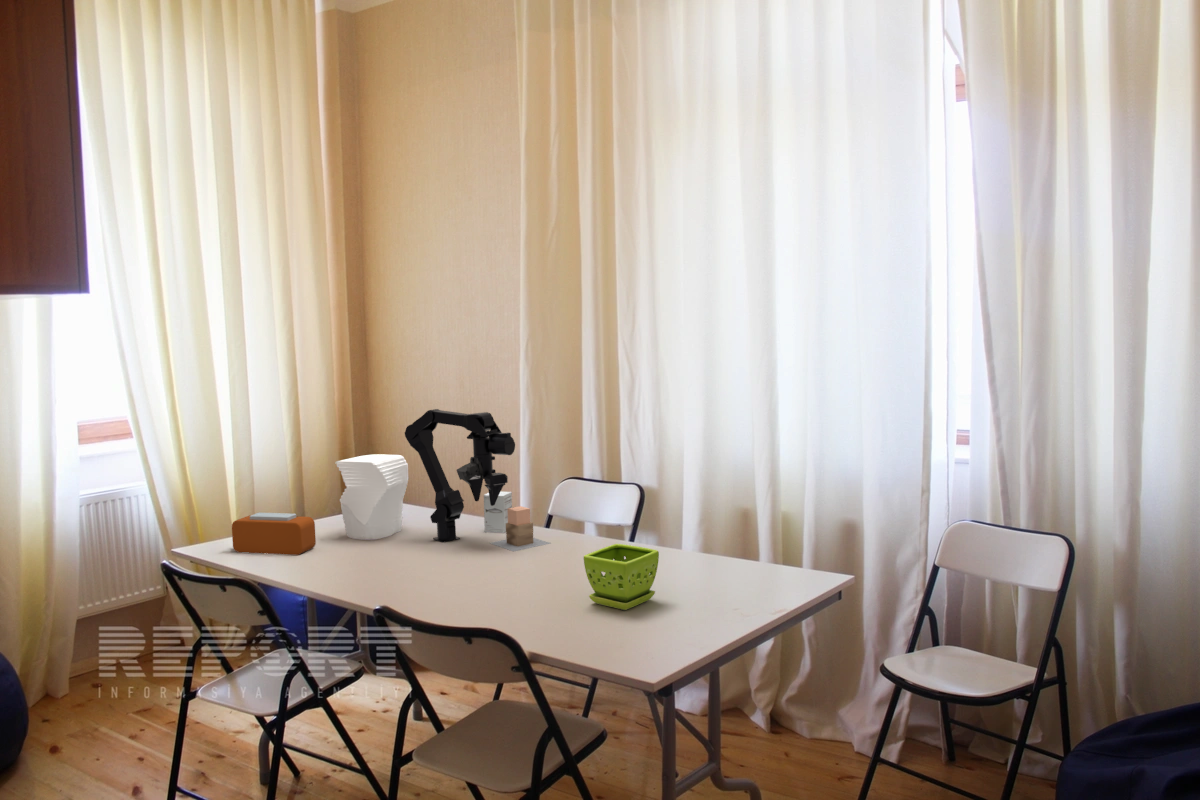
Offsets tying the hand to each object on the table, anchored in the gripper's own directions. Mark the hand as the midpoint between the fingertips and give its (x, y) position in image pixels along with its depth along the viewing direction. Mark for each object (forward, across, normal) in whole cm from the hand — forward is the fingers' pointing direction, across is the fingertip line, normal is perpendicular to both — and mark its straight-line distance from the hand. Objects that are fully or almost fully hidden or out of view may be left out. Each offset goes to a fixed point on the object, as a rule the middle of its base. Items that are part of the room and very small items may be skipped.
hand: (484, 503), depth 288 cm
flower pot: (+13, +73, -6) cm, 74 cm away
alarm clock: (+13, -40, -52) cm, 67 cm away
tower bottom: (+13, +7, +8) cm, 17 cm away
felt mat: (+13, +7, +8) cm, 17 cm away
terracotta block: (+6, +7, +8) cm, 12 cm away
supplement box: (+13, -13, +13) cm, 23 cm away
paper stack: (+13, -37, -17) cm, 43 cm away
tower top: (+10, +7, +8) cm, 14 cm away
